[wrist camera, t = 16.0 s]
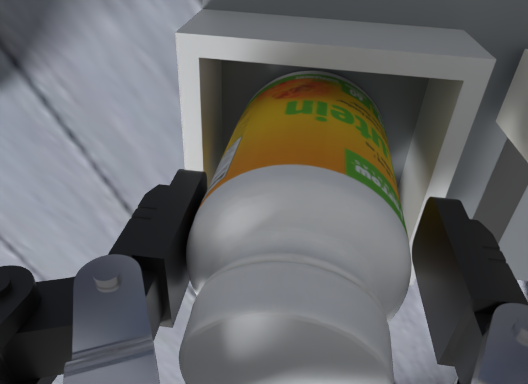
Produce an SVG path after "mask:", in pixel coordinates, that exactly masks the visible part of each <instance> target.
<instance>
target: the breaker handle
mask: <svg viewBox="0 0 528 384" xmlns="http://www.w3.org/2000/svg"><path fill="white" fill-rule="evenodd" d="M496 123H497V124H498V125H499V127H500V128H501V129H502V130H503V132H504V133H505V134H506V136H507V137H508V138H509V139H510V141H511V142H512V143H513V145H514V146H515V147H516V148H517V150H518V151H519V152H520V153H521V155H522V156H523V157H524V159H525V160H526V161H527V162H528V49H525V50H524V52H523V55H522V57H521V60H520V62H519V65H518V67H517V70H516V72H515V75H514V77H513V79H512V82H511V84H510V87H509V89H508V92H507V94H506V97H505V99H504V102H503V104H502V107H501V109H500V112H499V114H498V117H497V119H496Z"/></svg>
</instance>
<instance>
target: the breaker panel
mask: <svg viewBox="0 0 528 384" xmlns="http://www.w3.org/2000/svg"><path fill="white" fill-rule="evenodd" d="M202 4H203V9H202V10H201V11H200V12H199V13H197V14H196V15H195V16H194V17H193V18H192V19H190V20H189V21H188V22H187V23H186V24H185V25H184V26H182V27H181V28H180V29H179V30H178V31H177V32H175V34H176V48H177V62H178V77H179V91H180V105H181V119H182V134H183V148H184V162H185V170H193V171H203V172H206V174H207V188H209V186H210V184H211V181H212V179H213V177H214V175H215V173H216V170H217V168H218V165H219V163H220V161H221V159H222V157H223V154H224V152H225V150H226V148H227V146H228V143H229V141H230V139H231V137H232V134H233V132H234V130H235V128H236V126H237V123H238V121H239V119H240V117H241V115H242V113H243V111H244V109H245V108H246V106H247V104H248V103H249V101H250V100H251V99H252V97H253V96H254V95H255V94H256V93H257V92H258V91H259V90H260V89H261V88H262V87H264V86H265V85H266V84H268V83H269V82H271V81H273V80H275V79H276V78H279V77H281V76H284V75H286V74H290V73H294V72H300V71H322V72H327V73H332V74H336V75H338V76H341V77H343V78H345V79H347V80H349V81H351V82H353V83H354V84H356V85H357V86H359V87H360V88H361V89H362V90H363V91H365V92H366V93H367V95H368V96H369V97H370V98H371V99H372V101H373V102H374V103H375V105H376V106H377V108H378V110H379V112H380V114H381V117H382V119H383V123H384V126H385V130H386V134H387V139H388V144H389V150H390V155H391V160H392V164H393V169H394V173H395V178H396V184H397V188H398V193H399V198H400V203H401V207H402V212H403V216H404V221H405V225H406V229H407V234H408V238H409V245H410V253H411V262H412V244H413V239H414V236H415V233H416V230H417V227H418V224H419V221H420V218H421V216H422V213H423V210H424V207H425V204H426V201H427V199H428V198H429V197H441V198H450V199H459V200H460V201H461V202H462V204H463V206H464V208H465V211H466V213H467V215H468V217H469V219H473V220H479V221H480V222H481V223H482V224H483V225H484V226H485V227H486V228H487V229H488V230H489V231H490V232H491V233H493V235H494V237H495V239H496V241H497V243H498V245H499V247H500V251H502V253H503V255H504V257H505V259H506V263H508V265H509V267H510V269H511V270H512V272H513V274H514V276H515V278H516V280H525V281H528V162H527V161H526V160H525V159H524V157H523V156H522V155H521V153H520V152H519V151H518V150H517V148H516V147H515V146H514V145H513V143H512V142H511V141H510V139H509V138H508V137H507V136H506V134H505V133H504V132H503V130H502V129H501V128H500V127H499V125H498V124H497V123H496V119H497V117H498V114H499V112H500V109H501V107H502V104H503V102H504V99H505V97H506V94H507V92H508V89H509V87H510V84H511V82H512V79H513V77H514V75H515V72H516V70H517V67H518V65H519V62H520V60H521V57H522V55H523V52H524V50H525V49H528V0H202ZM415 278H416V275H415V270H414V266H413V262H412V266H411V278H410V283H409V285H412V286H413V283H414V280H415Z"/></svg>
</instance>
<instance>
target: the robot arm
mask: <svg viewBox="0 0 528 384" xmlns="http://www.w3.org/2000/svg"><path fill="white" fill-rule="evenodd" d="M207 190H208V188H207V174H206V172H203V171H193V170H184V169H179V170H178V171H177V173H176V175H175V177H174V179H173V180H172V182H171V184H170V186H169V185H160V184H159V185H157V186H156V187H155V188H153V189H152V190H150V191H149V192H148V193H146V194H145V195H144V197H143V199H142V200H141V202H140V204H139V205H138V209H136V210H135V212H134V213H133V215H132V218H131V219H130V220H129V221H128V223H127V225H126V226H125V228H124V229H123V231H122V233H121V234H120V236H119V238H118V239H117V241H116V242H115V244H114V246H113V247H112V249H111V251H110V252H109V254H108V255H105V256H101V257H99V258H96V259H94V260H92V261H90V262H88V263H87V264H85V265H84V266H83V267H82V268H81V269H80V270H79V271H78V273H77V274H76V276H75V277H71V278H65V279H57V280H49V281H41V282H35V279H34V277H33V275H32V273H31V272H30V271H29V270H28V269H26V268H23V267H20V266H2V267H0V384H52V382H53V381H54V380H55V378H56V377H57V375H61V374H64V377H63V384H160V380H159V374H158V368H157V361H156V355H155V349H154V343H153V341H154V339H155V336H156V334H157V331H158V328H159V326H164V327H171V328H173V325H174V322H175V320H176V317H177V314H178V311H179V309H180V306H181V303H182V300H183V297H184V295H185V292H186V289H187V286H188V283H189V281H190V278H189V274H188V269H187V263H186V246H187V241H188V236H189V232H190V229H191V227H192V224H193V222H194V218H195V216H196V213H197V211H198V209H199V207H200V205H201V202H202V200H203V198H204V196H205V194H206V192H207ZM412 262H413V266H414V270H415V275H416V279H417V283H418V287H419V291H420V295H421V299H422V303H423V307H424V311H425V315H426V319H427V323H428V327H429V331H430V335H431V339H432V343H433V347H434V352H435V356H436V360H437V364H440V365H447V366H455V369H456V372H457V376H458V377H457V379H456V380H455V382H454V384H528V302H527V300H526V298H525V296H524V294H523V292H522V290H521V288H520V286H519V284H518V282H517V280H516V278H515V276H514V274H513V272H512V270H511V269H510V267H509V265H508V263H506V259H505V257H504V255H503V253H502V251H500V247H499V245H498V243H497V241H496V239H495V237H494V235H493V233H491V232H490V231H489V230H488V229H487V228H486V227H485V226H484V225H483V224H482V223H481V222H480V221H479V220H473V219H469V217H468V215H467V213H466V211H465V208H464V206H463V204H462V202H461V201H460V200H459V199H450V198H441V197H429V198H428V199H427V201H426V204H425V207H424V210H423V213H422V216H421V218H420V221H419V224H418V227H417V230H416V233H415V236H414V239H413V244H412Z"/></svg>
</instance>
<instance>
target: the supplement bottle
mask: <svg viewBox="0 0 528 384" xmlns="http://www.w3.org/2000/svg"><path fill="white" fill-rule="evenodd" d="M186 263H187V269H188V274H189V278H190V281H191V284H192V286H193V289H194V291H195V293H196V295H197V297H196V299H195V302H194V304H193V307H192V311H191V315H190V318H189V321H188V324H187V327H186V330H185V334H184V337H183V340H182V344H181V347H180V351H179V364H180V370H181V374H182V376H183V378H184V381H185V383H186V384H394V374H393V362H392V351H391V339H390V331H389V326H388V322H389V321H390V320H391V319H392V318H393V317H394V315H395V314H396V313H397V311H398V310H399V308H400V306H401V305H402V303H403V301H404V298H405V296H406V294H407V291H408V287H409V283H410V278H411V266H412V262H411V253H410V245H409V238H408V234H407V229H406V225H405V221H404V216H403V212H402V207H401V203H400V198H399V193H398V188H397V184H396V178H395V173H394V169H393V164H392V160H391V155H390V150H389V144H388V139H387V134H386V130H385V126H384V123H383V119H382V117H381V114H380V112H379V110H378V108H377V106H376V105H375V103H374V102H373V101H372V99H371V98H370V97H369V96H368V95H367V93H366V92H365V91H363V90H362V89H361V88H360V87H359V86H357V85H356V84H354V83H353V82H351V81H349V80H347V79H345V78H343V77H341V76H338V75H336V74H332V73H327V72H322V71H300V72H294V73H290V74H286V75H284V76H281V77H279V78H276V79H275V80H273V81H271V82H269V83H268V84H266V85H265V86H264V87H262V88H261V89H260V90H259V91H258V92H257V93H256V94H255V95H254V96H253V97H252V99H251V100H250V101H249V103H248V104H247V106H246V108H245V109H244V111H243V113H242V115H241V117H240V119H239V121H238V123H237V126H236V128H235V130H234V132H233V134H232V137H231V139H230V141H229V143H228V146H227V148H226V150H225V152H224V154H223V157H222V159H221V161H220V163H219V165H218V168H217V170H216V173H215V175H214V177H213V179H212V181H211V184H210V186H209V188H208V190H207V192H206V194H205V196H204V198H203V200H202V202H201V205H200V207H199V209H198V211H197V213H196V216H195V218H194V222H193V224H192V227H191V229H190V232H189V236H188V241H187V246H186Z"/></svg>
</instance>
